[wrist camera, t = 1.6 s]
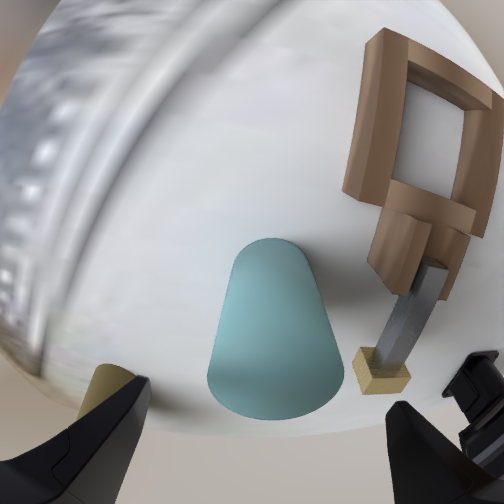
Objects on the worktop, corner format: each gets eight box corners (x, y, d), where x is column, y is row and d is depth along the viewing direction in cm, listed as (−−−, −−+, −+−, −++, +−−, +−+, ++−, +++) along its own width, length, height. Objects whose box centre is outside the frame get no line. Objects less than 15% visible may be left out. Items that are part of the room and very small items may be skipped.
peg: (318, 245, 17) (365, 339, 8) (299, 313, 18) (319, 422, 10) (237, 231, 16) (212, 321, 8) (227, 302, 18) (204, 411, 10)
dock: (478, 101, 12) (518, 99, 8) (441, 274, 17) (472, 303, 13) (365, 43, 12) (394, 17, 8) (326, 253, 17) (344, 287, 13)
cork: (160, 395, 23) (128, 490, 12) (129, 408, 24) (97, 487, 14) (112, 355, 21) (59, 449, 11) (86, 374, 23) (41, 451, 12)
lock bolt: (437, 256, 14) (464, 277, 11) (387, 363, 17) (400, 392, 14) (399, 247, 14) (425, 270, 11) (351, 362, 17) (362, 394, 14)
